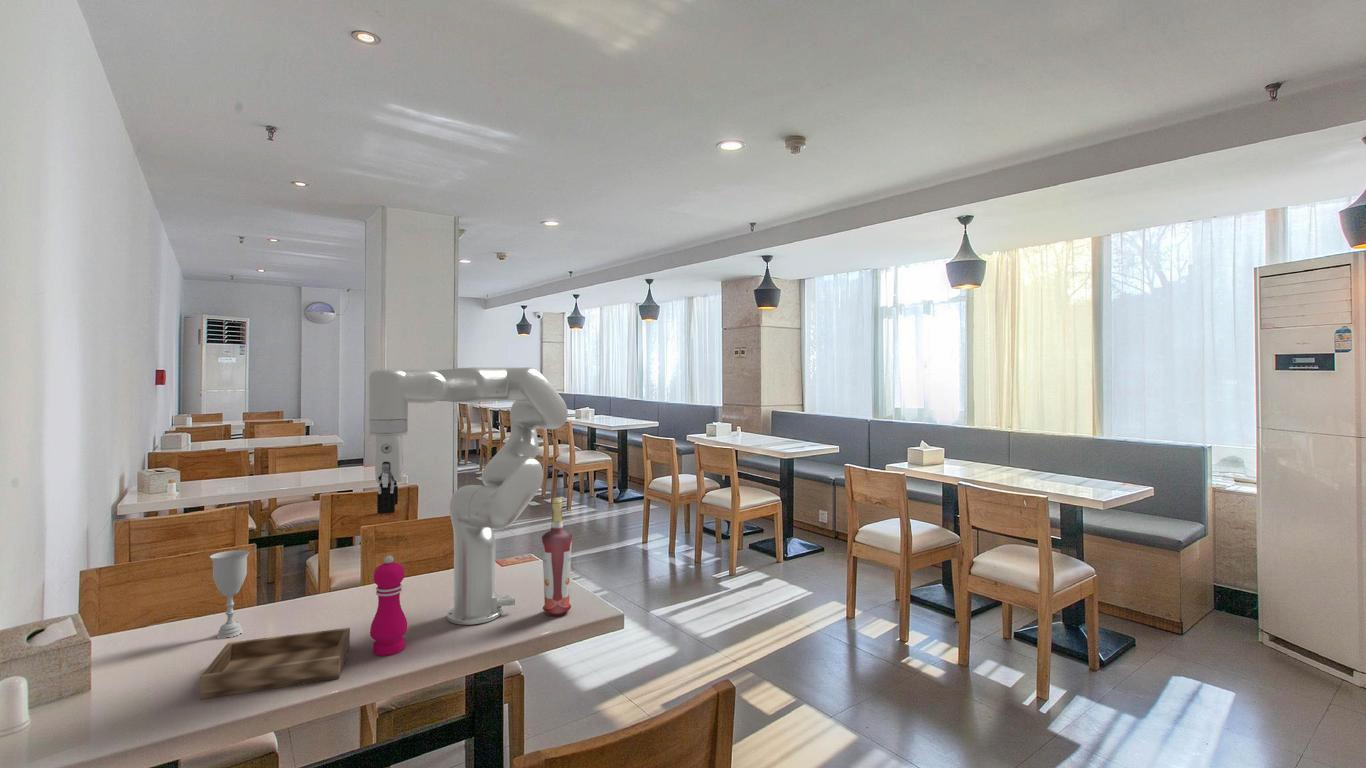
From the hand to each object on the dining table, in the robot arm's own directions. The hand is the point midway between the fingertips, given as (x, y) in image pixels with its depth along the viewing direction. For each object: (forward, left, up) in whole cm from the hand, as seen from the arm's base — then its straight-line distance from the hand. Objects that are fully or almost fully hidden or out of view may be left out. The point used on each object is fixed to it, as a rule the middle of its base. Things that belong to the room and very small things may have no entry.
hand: (387, 508), depth 134 cm
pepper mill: (0, 0, -30) cm, 30 cm away
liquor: (-37, -9, -30) cm, 49 cm away
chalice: (+34, -22, -30) cm, 50 cm away
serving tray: (+19, +3, -30) cm, 35 cm away
